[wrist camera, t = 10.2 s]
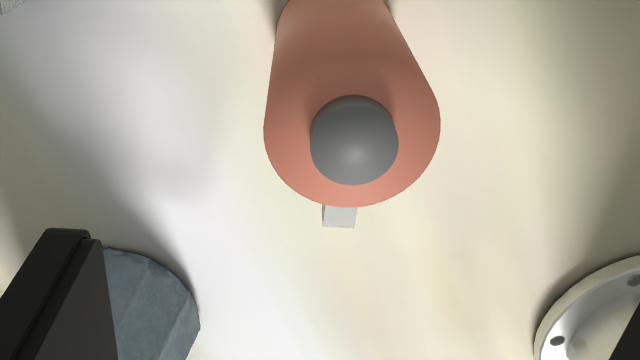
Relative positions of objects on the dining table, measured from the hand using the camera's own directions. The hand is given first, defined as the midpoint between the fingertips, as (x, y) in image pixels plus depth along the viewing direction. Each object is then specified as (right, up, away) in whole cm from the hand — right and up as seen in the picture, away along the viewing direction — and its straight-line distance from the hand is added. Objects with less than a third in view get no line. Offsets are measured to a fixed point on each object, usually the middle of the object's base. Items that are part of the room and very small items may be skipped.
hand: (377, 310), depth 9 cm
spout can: (0, +8, +14) cm, 16 cm away
